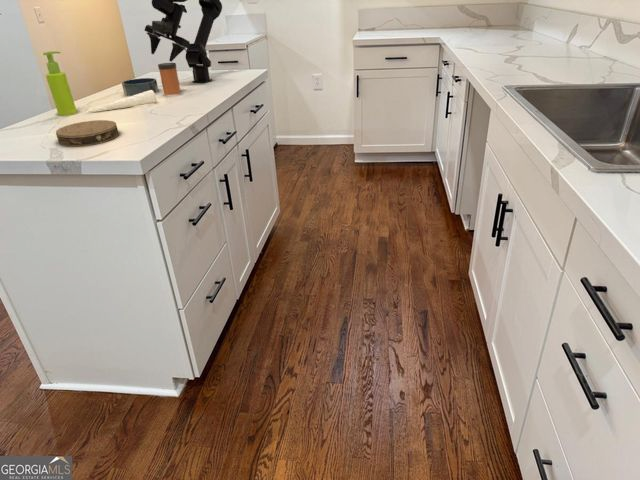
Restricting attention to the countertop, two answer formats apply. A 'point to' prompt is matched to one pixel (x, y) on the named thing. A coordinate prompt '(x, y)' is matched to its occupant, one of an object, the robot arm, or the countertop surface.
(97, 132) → the round wood slice
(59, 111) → the soap dispenser
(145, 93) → the unicorn horn
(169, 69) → the spice tin
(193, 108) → the countertop surface
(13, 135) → the countertop surface
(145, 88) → the bowl
